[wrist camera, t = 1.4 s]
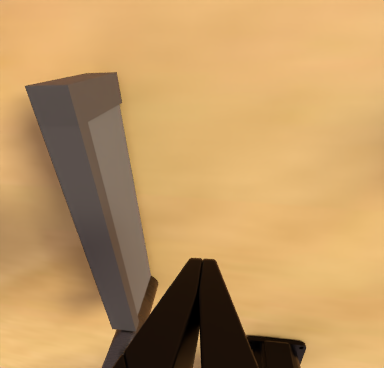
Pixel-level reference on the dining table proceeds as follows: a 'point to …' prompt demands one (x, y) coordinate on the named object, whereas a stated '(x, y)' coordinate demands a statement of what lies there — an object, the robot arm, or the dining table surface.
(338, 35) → the dining table surface
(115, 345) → the post
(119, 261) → the grey long flat bar
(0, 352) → the dining table surface
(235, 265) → the dining table surface
